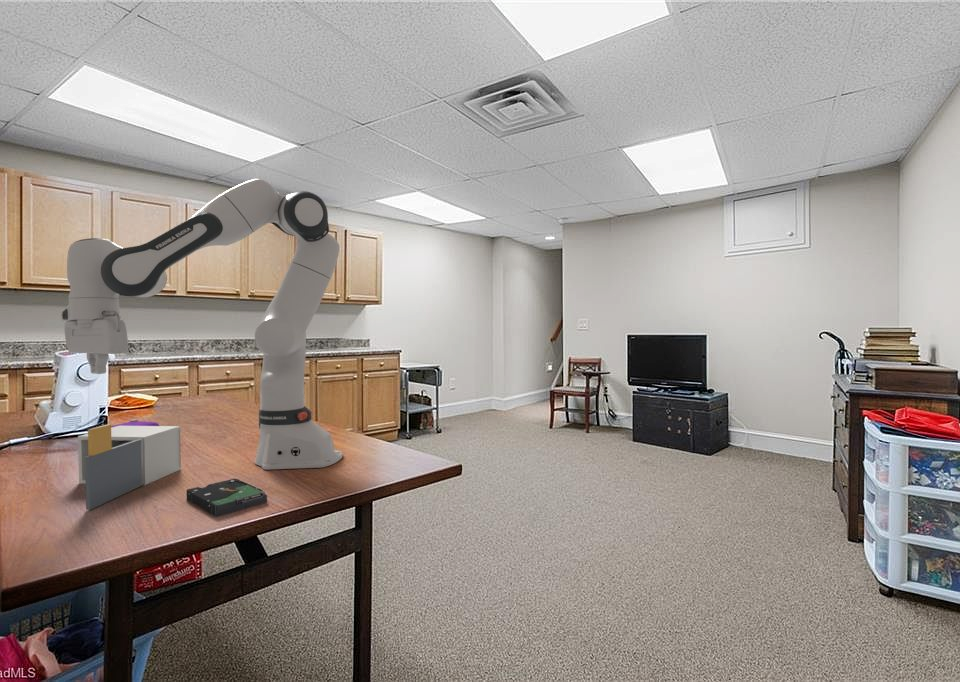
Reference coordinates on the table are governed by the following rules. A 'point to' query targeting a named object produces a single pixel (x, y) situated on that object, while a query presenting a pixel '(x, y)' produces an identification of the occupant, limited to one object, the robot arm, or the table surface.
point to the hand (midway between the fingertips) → (98, 373)
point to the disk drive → (226, 497)
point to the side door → (111, 467)
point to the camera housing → (157, 449)
